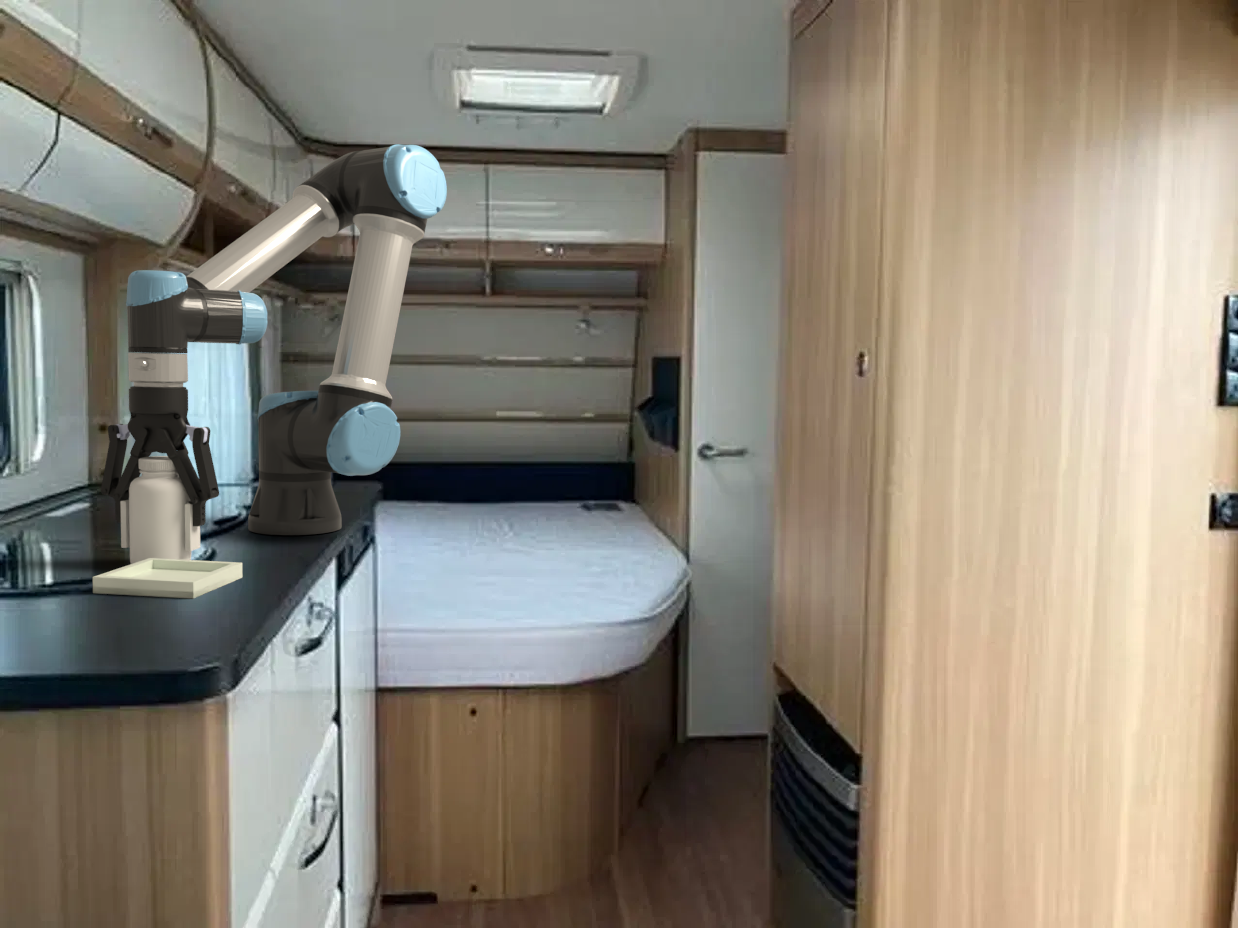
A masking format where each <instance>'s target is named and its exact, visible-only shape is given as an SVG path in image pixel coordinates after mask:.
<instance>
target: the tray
mask: <svg viewBox="0 0 1238 928" xmlns="http://www.w3.org/2000/svg"><path fill="white" fill-rule="evenodd" d="M240 579H243V562H237V561H236V562H235V561H234V562H233V561H219V560H218V561H215V560H213V561H212V560H211V561H210V560H199V559H198V560H196V559H193V560H192V559H191V560H179V559H159V558H149V559H146V560H143V561H139V562H136V563H133V564H131V563H130V564H128V565H125V566H122V567H119V568H116V569H113V570H110V571H107V572H104V573H100V574H98V575H95V576H92V593H93V594H101V595H102V594H103V595H107V594H108V595H121V596H122V595H124V596H139V597H141V596H142V597H143V596H144V597H157V598H158V597H159V598H175V599H176V598H178V599H179V598H180V599H195V598H196V599H197V598H198V597H201V596H203V595H204V594H208V593H209V592H211V591H212V592H213V591H215V590H217V589H219V588H221V587H223V586H226V585H229V584H231V583H234V582H235V581H237V580H240Z"/></svg>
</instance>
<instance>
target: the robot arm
mask: <svg viewBox="0 0 1238 928" xmlns="http://www.w3.org/2000/svg"><path fill="white" fill-rule="evenodd" d="M445 176H446V175H445V172H444V170H442V168H441V167H440V163H439V161H438V160H437V158H436V157H435V156H434V154H432V153H431V152H430V151H429V150H428V149H426V148H424V147H422V146H421V145H420V146H419V145H416V144H399V143H397V144H396V143H395V144H393V145H390V146H385V147H379V148H371V149H364V150H356V151H351V152H348V153H346V154H344V155H342V156H340V157H338V158H336V159H335V160H333V161H332V162H330V163H329V164H327V165H326V166H324V167H323V168H322V169H320V170H318V171H317V172H315V173H314V174H313V175H312V176H310V177H309V178H308V179H306V180H304V182H302V183H301V184H300V185H297V186H296V187H295V188H294V190H293V192H292V198H291V199H290V200H288V201H287V202H286V203H284V204H283V205H281V207H279V208H278V209H276V210H275V211H273V212H272V213H271V214H269V215H268V216H267V217H265V218H263V220H262V221H260V222H259V223H257V224H256V225H254V226H253V227H252V228H250V229H249V230H248V231H246V232H245V233H243V234H242V235H241V236H240V237H238V238H236V239H235V240H234V241H233V242H231V243H230V244H228V245H227V246H226V247H225V248H222V250H220V251H219V252H218V253H216V254H215V255H214V256H212V257H211V258H209V259H208V260H207V261H206V262H204V263H203V264H201V265H200V266H198V267H197V268H196V269H194V270H193V271H192V272H191V273H188V275H185V274H184V273H183V272H179V271H170V270H169V271H168V270H156V269H154V270H152V269H147V270H146V269H144V270H143V269H141V270H140V269H138V270H135V271H132V272H131V273H130V274H129V275H128V277H127V288H126V289H127V290H126V291H127V292H126V302H125V306H126V311H127V314H126V315H127V349H128V353H127V354H128V355H127V356H128V358H127V359H128V361H127V362H128V364H127V365H128V381H129V382H130V383H133V385H131V386H130V387H129V388H128V410H129V411H128V412H129V414H130V418H129V420H128V422H127V423H125V424H123V423H117V424H109V425H108V427H107V433H108V440H109V442H108V448H107V454H106V459H105V465H104V469H103V476H102V481H101V487H100V493H101V495H104V496H108V497H111V498H113V499H114V502H115V505H114V509H115V513H114V514H115V522H116V523H117V524H120V538H121V540H120V546H121V547H120V548H121V549H122V548H123V549H127V548H130V527H129V487H130V484H131V482H132V481H133V480H134V479H136V478H138V477H140V476H141V475H142V473H140V472H139V471H140V470H141V469H139V458H142V457H150V456H151V455H152V454H153V453H156V452H157V453H160V454H166V456H168V458H169V459H171V460H172V462H173V464H174V466H175V468H176V471H177V473H178V475H179V477H180V479H181V481H182V484H183V486H184V488H185V490H186V492H187V494H188V496H189V499H190V501H188V503H187V504H185V551H191V552H193V551H195V550H199V549H201V526H205V524H206V520H207V519H206V517H207V516H206V514H207V513H206V512H207V511H206V504H207V502H208V501H209V500H212V499H214V498H217V497H219V496H220V490H219V484H218V480H217V479H218V478H217V476H216V469H215V466H214V460H213V456H212V452H211V451H212V450H211V448H210V438H211V429H210V427H208V426H203V427H202V426H201V427H199V426H194V425H191V424H190V422H189V419H188V413H189V389H187V387H186V386H184V384H185V383H187V382H189V373H188V372H189V370H188V369H189V368H188V367H189V365H188V345H189V343H204V344H207V343H208V344H235V345H239V346H240V345H242V344H255V343H257V342H259V341H260V340H261V339H262V338H263V337H264V335H265V333H266V331H267V327H268V323H269V322H268V309H267V306H266V303H265V301H264V300H263V299H262V298H261V297H260V296H259V295H257V294H256V293H253V292H252V291H253V290H255V289H256V288H257V287H258V286H260V285H261V284H263V283H264V282H266V280H269V278H270V277H272V276H273V275H274V274H275V273H276V272H278V271H279V270H280V269H282V268H283V267H285V266H286V265H287V264H288V263H290V262H291V261H292V260H294V259H295V258H296V257H298V256H299V255H300V254H302V253H303V252H304V251H305V250H307V249H308V248H309V247H311V246H312V245H313V244H314V243H316V242H318V241H319V239H321V238H322V237H324V238H332V237H334V236H335V235H337V233H340V232H341V231H342V230H344V229H346V228H347V227H350V226H353V225H355V226H356V228H357V230H358V232H359V236H358V241H357V246H356V251H355V257H354V261H353V265H352V266H353V267H352V271H351V277H350V282H349V287H348V292H347V295H346V296H347V297H346V302H345V306H344V312H343V316H342V321H341V327H340V332H339V337H338V342H337V345H336V346H337V348H336V351H335V356H334V362H333V367H332V370H331V371H332V372H331V375H329V377H328V378H326V379H324V380H323V381H321V382H320V384H319V387H318V389H317V390H296V391H295V390H294V391H293V390H292V391H281V392H273V393H268V394H266V395H263V396H262V397H261V398H260V400H259V402H258V413H257V422H258V486H257V489H256V492H255V496H254V498H253V502H252V505H251V508H250V510H249V514H248V518H247V522H248V527H247V528H248V531H250V532H252V533H256V534H262V535H274V536H307V535H309V536H310V535H317V534H318V535H319V534H327V533H332V532H336V531H339V530H341V529H342V514H341V510H340V507H339V503H338V501H337V499H336V498H337V497H336V494H335V492H334V489H333V486H332V474H331V473H334V474H335V473H336V474H341V475H344V476H348V477H349V476H350V477H353V476H368V475H373V474H375V473H377V472H379V471H381V470H382V468H385V467H386V466H387V465H388V464H390V462H391V461H392V460H393V458H394V456H395V455H396V453H397V450H398V447H399V446H400V440H401V425H400V423H399V422H398V421H397V420H398V416H397V415H396V414H395V412H394V411H393V410H392V403H393V397H392V395H391V393H390V392H389V390H388V389H387V386H386V384H387V379H388V373H389V369H390V365H391V364H390V363H391V358H392V353H393V347H394V343H395V338H396V337H395V336H396V333H397V327H398V322H399V319H400V318H399V317H400V310H401V307H402V302H403V296H404V291H405V285H406V280H407V275H408V271H409V266H410V262H411V256H412V250H413V245H414V244H415V243H417V242H419V241H420V240H422V239H423V238H424V236H425V232H426V226H427V222H428V219H430V218H432V217H434V216H436V215H437V214H438V213H440V212H441V211H442V210H443V208H444V206H445V203H446V201H447V195H448V189H447V188H448V187H447V179H446V177H445ZM130 436H131V437H132V438H133V439H134V440H135V441H134V442H133V445H132V447H131V450H130V452H129V454H130V456H129V459H128V460H127V463H126V465H125V467H124V463H125V459H126V458H125V457H126V452H127V447H128V439H129V437H130ZM187 436H189V437H188V438H189V440H190V441H191V442H192V443H191V444H192V453H193V457H194V461H195V466H196V469H195V467H194V465H193V463H192V461H191V459H190V456H189V450H188V448H187V445H186V444H185V440H186V439H187V438H186V437H187ZM123 469H124V470H123Z"/></svg>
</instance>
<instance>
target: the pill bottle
mask: <svg viewBox="0 0 1238 928" xmlns="http://www.w3.org/2000/svg"><path fill="white" fill-rule="evenodd" d="M139 469H141V470H140V471H139V472H140V473H141V475H140V476H139V477H138V478H136V479H134V480H133V481H132V482H131V484H130V487H129V527H130V547H129V562H130V564H133V563H136V562H139V561H143V560H146V559H149V558H159V559H179V560H192V551H185V504H187V503H188V501H190V499H189V496H188V494H187V492H186V490H185V488H184V486H183V484H182V481H181V479H180V477H179V475H178V473H177V471H176V468H175V466H174V464H173V462H172V460H171V459H169V458H168V456H167V455H155V456H154V455H152V456H151V455H150V456H149V457H142V458H139Z"/></svg>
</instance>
